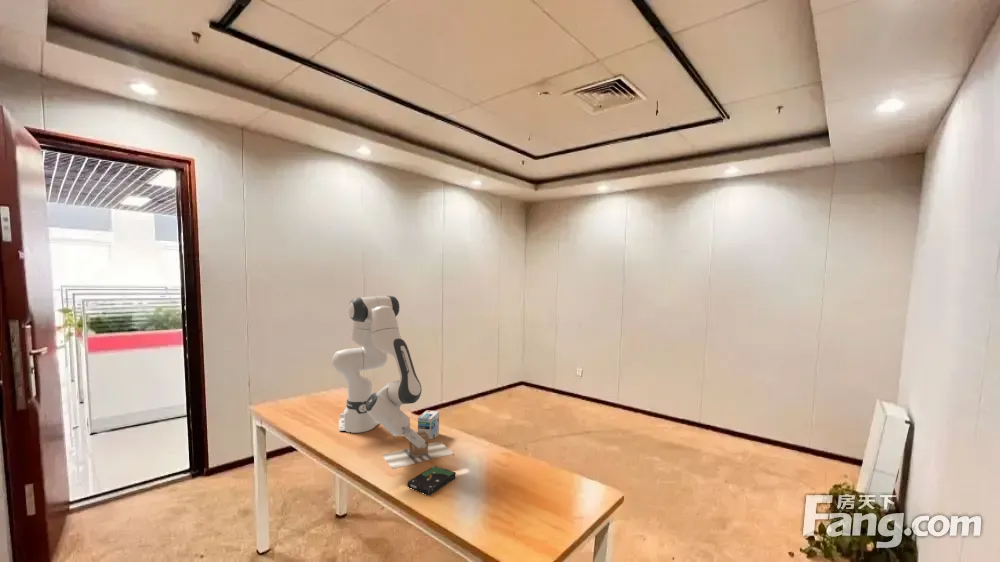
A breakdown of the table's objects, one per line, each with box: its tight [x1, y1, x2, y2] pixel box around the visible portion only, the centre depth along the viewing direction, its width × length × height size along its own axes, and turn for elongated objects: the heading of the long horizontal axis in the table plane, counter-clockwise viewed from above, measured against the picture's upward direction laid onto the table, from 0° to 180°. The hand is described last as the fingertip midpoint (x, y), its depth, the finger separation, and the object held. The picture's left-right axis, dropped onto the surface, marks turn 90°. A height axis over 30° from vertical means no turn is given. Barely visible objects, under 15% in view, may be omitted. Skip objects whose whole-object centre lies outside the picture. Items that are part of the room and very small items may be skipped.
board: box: [381, 441, 455, 470], centre depth 165 cm, size 14×26×2 cm, turn 124°
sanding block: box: [408, 431, 429, 457], centre depth 165 cm, size 5×6×8 cm
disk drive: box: [407, 465, 457, 496], centre depth 145 cm, size 10×3×15 cm
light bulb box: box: [417, 409, 440, 440], centre depth 186 cm, size 11×7×11 cm, turn 168°
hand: (421, 443), depth 166 cm, fingers closed on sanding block, 5 cm apart
